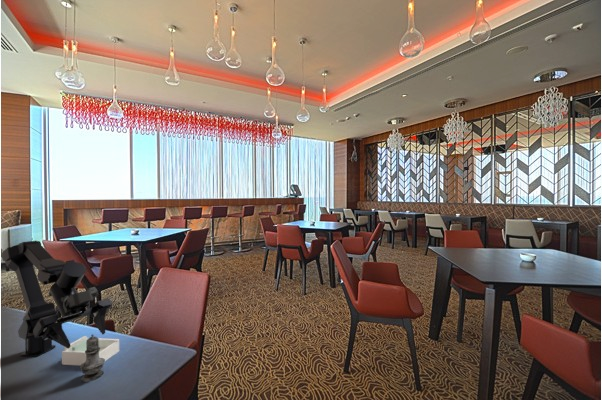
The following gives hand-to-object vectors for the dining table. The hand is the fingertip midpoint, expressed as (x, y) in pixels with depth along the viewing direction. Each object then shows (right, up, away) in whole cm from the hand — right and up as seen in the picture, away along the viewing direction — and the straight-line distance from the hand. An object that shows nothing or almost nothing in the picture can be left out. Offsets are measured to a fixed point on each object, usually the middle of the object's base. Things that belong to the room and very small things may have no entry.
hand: (87, 340), depth 84 cm
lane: (-5, -10, +9) cm, 14 cm away
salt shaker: (+2, -10, -1) cm, 10 cm away
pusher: (-8, -9, +9) cm, 15 cm away
